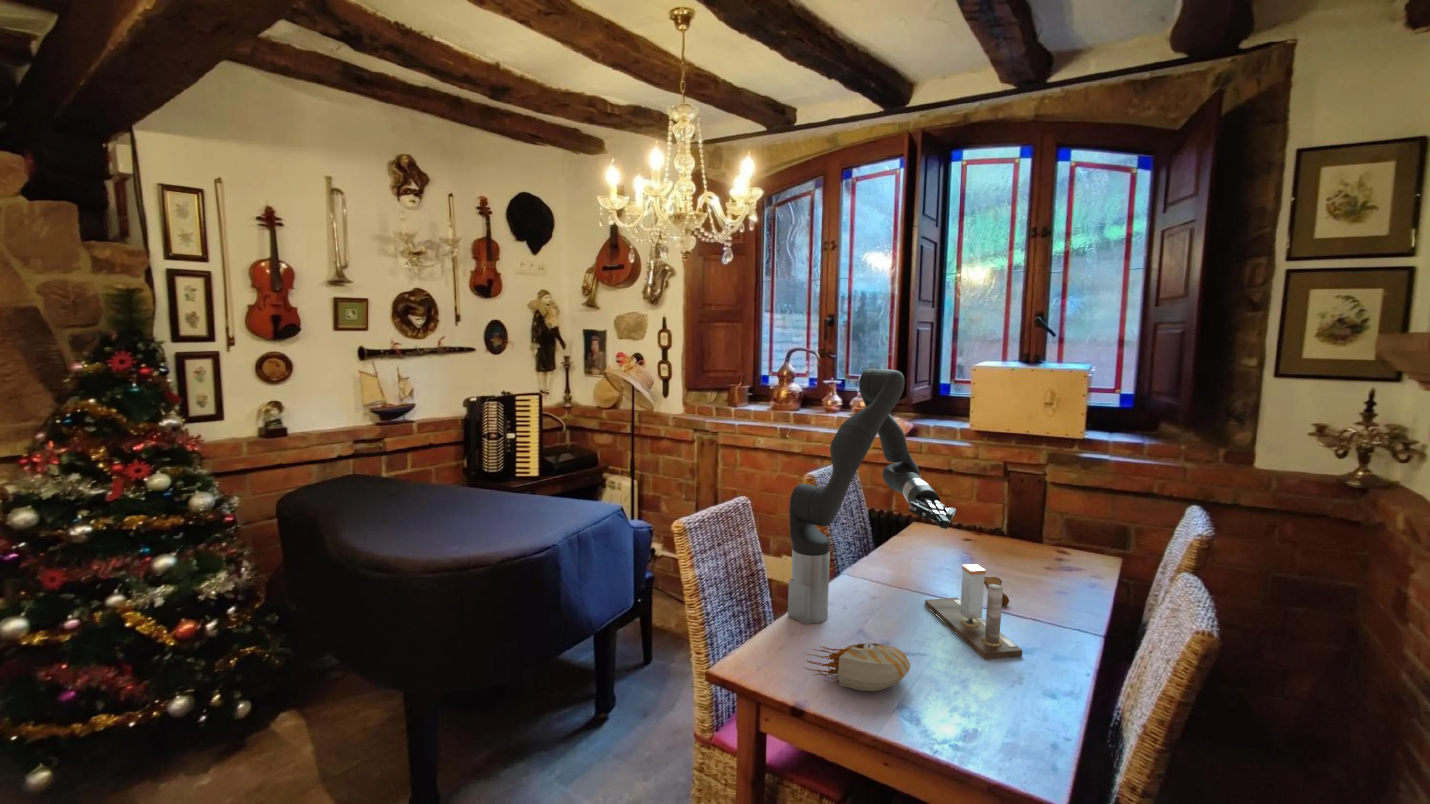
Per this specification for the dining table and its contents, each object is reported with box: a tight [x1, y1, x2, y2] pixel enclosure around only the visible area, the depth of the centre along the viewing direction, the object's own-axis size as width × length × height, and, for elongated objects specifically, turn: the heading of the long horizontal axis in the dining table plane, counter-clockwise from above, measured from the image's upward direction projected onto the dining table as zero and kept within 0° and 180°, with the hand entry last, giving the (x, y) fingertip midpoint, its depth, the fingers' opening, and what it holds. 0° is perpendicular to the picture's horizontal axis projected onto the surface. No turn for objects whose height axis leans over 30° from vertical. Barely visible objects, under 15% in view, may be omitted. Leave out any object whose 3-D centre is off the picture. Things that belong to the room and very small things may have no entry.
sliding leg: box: [960, 563, 987, 622], centre depth 153 cm, size 4×4×13 cm
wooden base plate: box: [924, 584, 1023, 661], centre depth 153 cm, size 27×9×14 cm, turn 10°
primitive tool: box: [984, 576, 1010, 607], centre depth 175 cm, size 19×6×4 cm, turn 168°
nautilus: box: [802, 642, 911, 692], centre depth 132 cm, size 8×22×15 cm
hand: (945, 525), depth 159 cm, fingers closed
